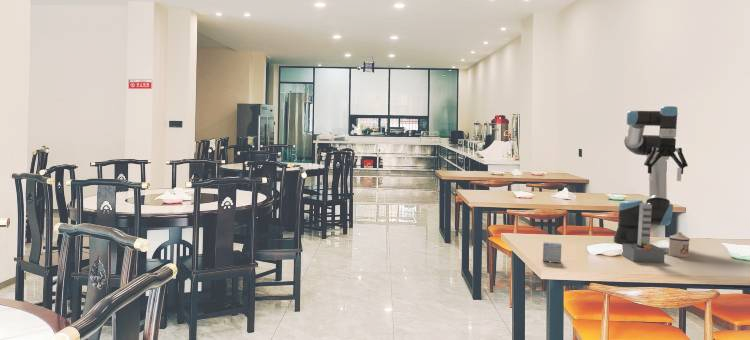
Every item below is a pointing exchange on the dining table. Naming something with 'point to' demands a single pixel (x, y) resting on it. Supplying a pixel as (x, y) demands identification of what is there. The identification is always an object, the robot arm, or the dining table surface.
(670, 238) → the teacup with lid
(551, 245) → the medicine box
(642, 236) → the column
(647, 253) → the sleeve base
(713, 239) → the dining table surface
